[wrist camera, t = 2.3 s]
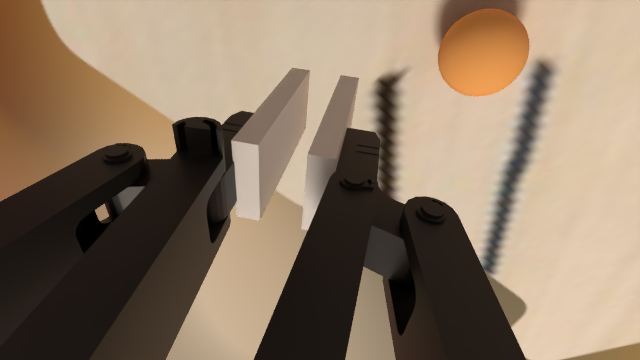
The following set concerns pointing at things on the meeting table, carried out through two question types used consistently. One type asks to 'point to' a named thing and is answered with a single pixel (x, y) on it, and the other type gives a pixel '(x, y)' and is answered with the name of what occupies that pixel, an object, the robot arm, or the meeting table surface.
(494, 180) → the meeting table surface
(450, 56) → the ball
